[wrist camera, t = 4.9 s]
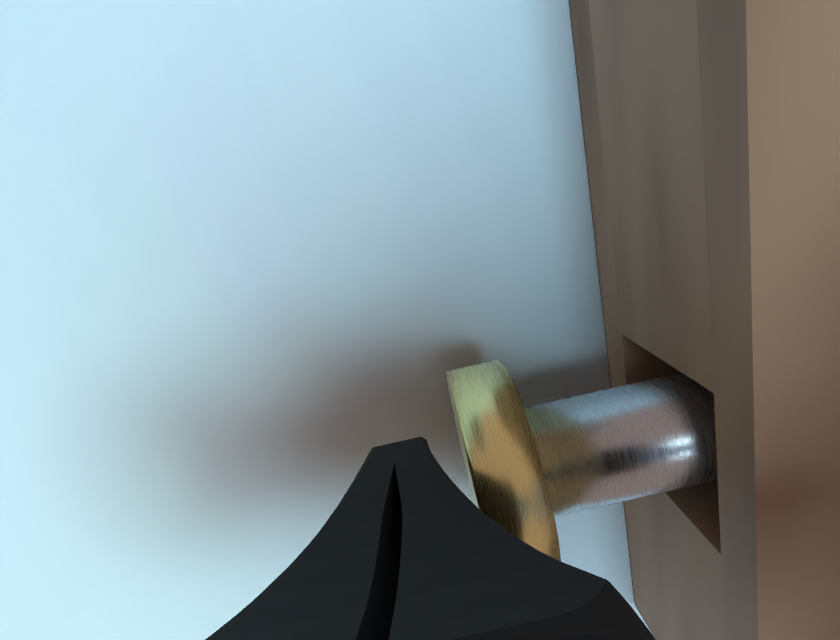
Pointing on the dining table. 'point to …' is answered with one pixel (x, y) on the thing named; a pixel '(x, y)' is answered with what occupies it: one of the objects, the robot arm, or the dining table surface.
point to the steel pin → (577, 447)
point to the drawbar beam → (725, 293)
